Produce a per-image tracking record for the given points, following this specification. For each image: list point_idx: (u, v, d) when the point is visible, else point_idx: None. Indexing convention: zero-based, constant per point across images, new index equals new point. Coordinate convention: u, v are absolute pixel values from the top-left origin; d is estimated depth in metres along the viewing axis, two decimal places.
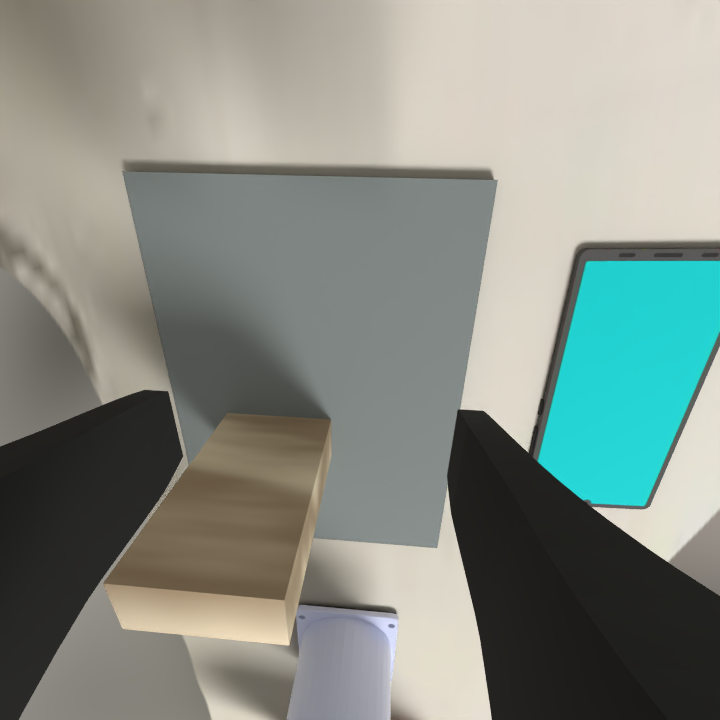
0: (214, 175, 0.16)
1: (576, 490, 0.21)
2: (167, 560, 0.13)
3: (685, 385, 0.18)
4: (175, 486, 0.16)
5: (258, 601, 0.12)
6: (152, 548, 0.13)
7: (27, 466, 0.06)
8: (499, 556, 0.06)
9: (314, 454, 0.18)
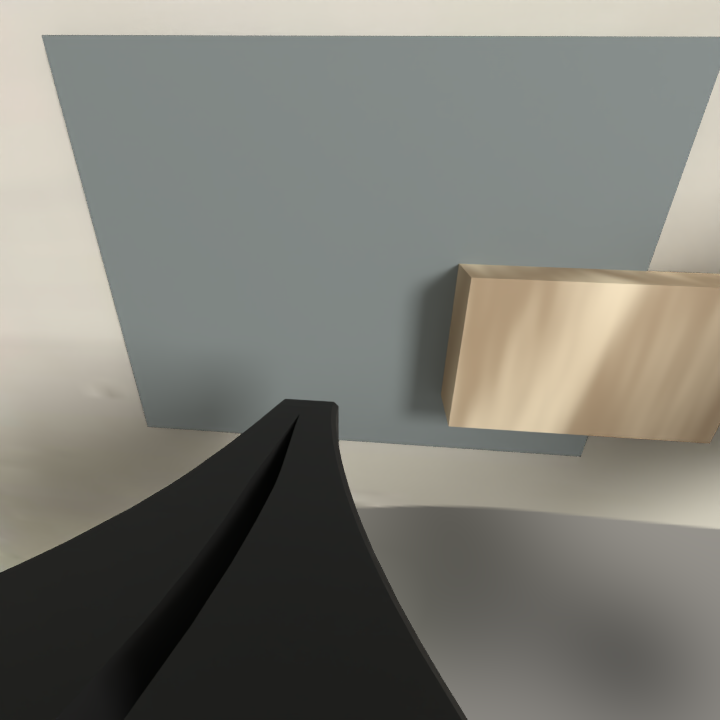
0: (129, 355, 0.17)
1: None
2: (700, 406, 0.13)
3: None
4: (595, 434, 0.14)
5: None
6: (681, 423, 0.14)
7: (250, 483, 0.05)
8: None
9: (562, 292, 0.12)
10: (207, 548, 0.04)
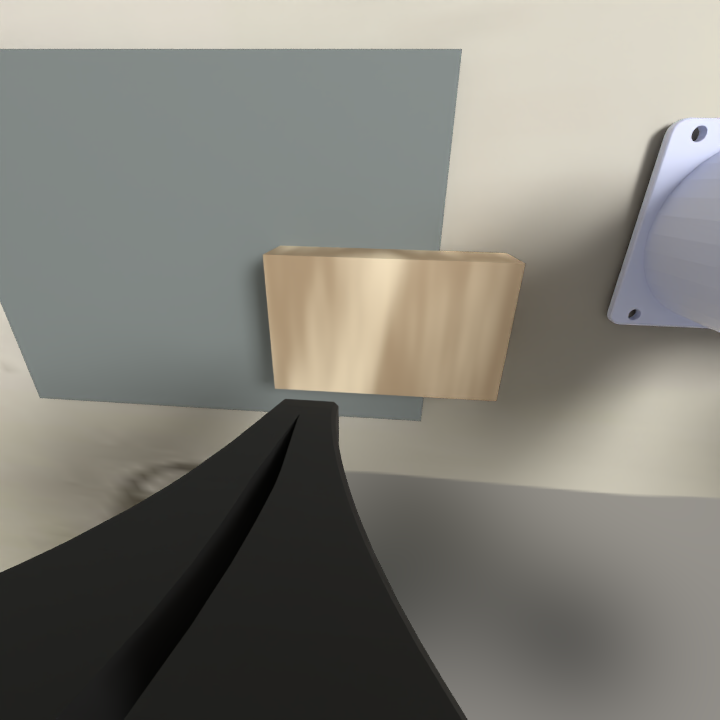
0: (13, 331, 0.19)
1: None
2: (479, 367, 0.16)
3: None
4: (399, 394, 0.16)
5: (519, 285, 0.14)
6: (468, 382, 0.16)
7: (250, 483, 0.05)
8: None
9: (340, 266, 0.14)
10: (207, 548, 0.04)
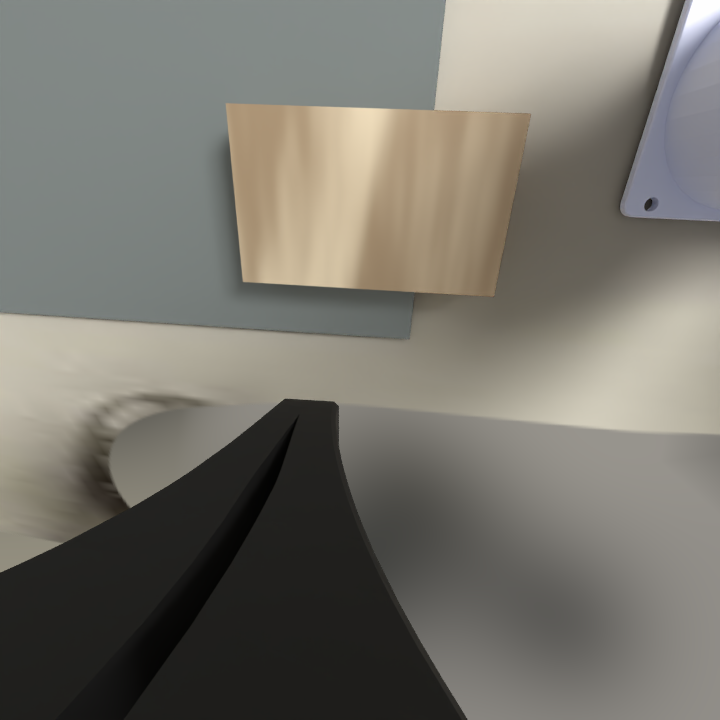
0: None
1: None
2: (475, 253, 0.14)
3: None
4: (384, 288, 0.14)
5: (523, 145, 0.12)
6: (462, 273, 0.14)
7: (250, 483, 0.05)
8: None
9: (315, 119, 0.12)
10: (207, 548, 0.04)
